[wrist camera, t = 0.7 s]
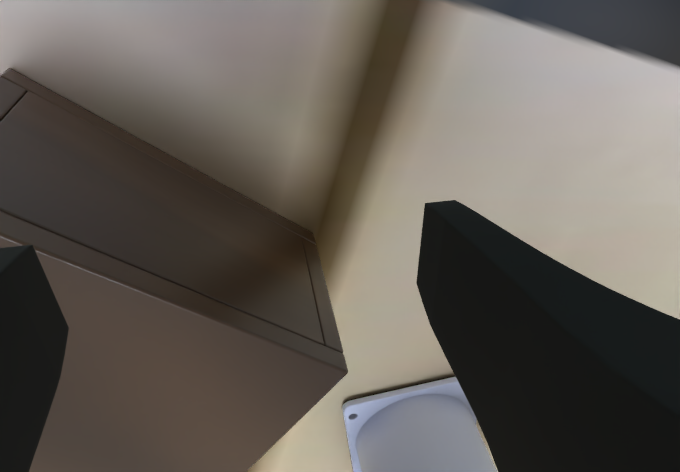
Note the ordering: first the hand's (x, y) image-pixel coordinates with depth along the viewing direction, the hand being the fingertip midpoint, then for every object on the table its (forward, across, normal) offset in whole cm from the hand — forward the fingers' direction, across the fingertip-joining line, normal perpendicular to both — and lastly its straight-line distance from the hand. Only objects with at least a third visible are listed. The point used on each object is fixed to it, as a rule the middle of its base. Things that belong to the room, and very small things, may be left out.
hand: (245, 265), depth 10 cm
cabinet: (+10, +6, +8) cm, 14 cm away
